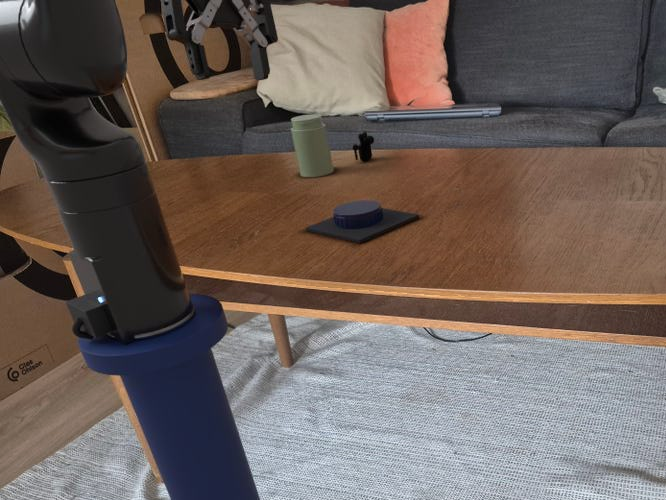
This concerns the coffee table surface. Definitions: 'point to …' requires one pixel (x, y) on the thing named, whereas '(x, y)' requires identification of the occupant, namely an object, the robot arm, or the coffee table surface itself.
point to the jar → (311, 146)
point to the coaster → (360, 235)
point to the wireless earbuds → (364, 147)
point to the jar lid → (358, 214)
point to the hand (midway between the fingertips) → (233, 79)
